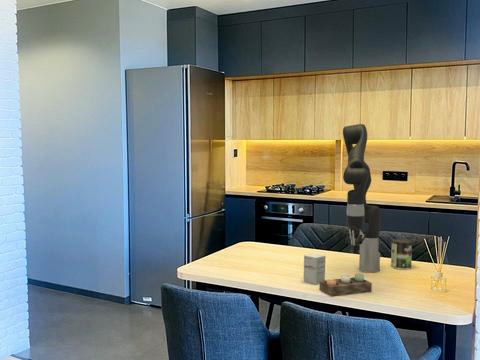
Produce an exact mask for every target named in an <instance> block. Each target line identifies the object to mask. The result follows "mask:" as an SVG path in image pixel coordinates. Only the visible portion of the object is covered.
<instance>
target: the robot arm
mask: <svg viewBox="0 0 480 360" xmlns="http://www.w3.org/2000/svg"><path fill="white" fill-rule="evenodd" d="M342 136H343V140H344V141H343V142H344V145H345V149H346V153H347V165H346V167H345V168H344V169H345V170H344V171H343V175H342V178H343V182H344V183H345V184H347V185H352V186H353V189H350V190H348V191H347V193H346V194H347V196H346V197H347V199H346V202H347V204H346V205H347V206H346V225H347V226H348V229H345V231H344V232H345V235H346V237H347V240H348V242H349V243H350V244H351V249H352V250H351V253H352V254H354V255H355V254H356V255H357V254H359V259H358V260H359V267H358V270H359V271H361V272H362V273H363V272H365V273H377V272H380V271H381V270H380V269H381V266H380V265H381V264H380V263H381V252H380V251H379V245H380V244H379V241H380V239H379V238H380V236H379V235H380V233H381V222H382V221H381V220H382V211H381V209H380V207H379V206H377V205H372V204H371V205H370V204H367V193H368V191H369V188H370V187H371V184H372V174H371V170H370V169H371V168H370V166H369V164H368V163H367V162H365V151H366V148H367V142H368V131H367V128H366V125H365V124H364V123H359V124H358V123H357V124H353V125H346V126H344V127H343V129H342ZM353 145H354V146H353ZM365 224H368V227H367V228H366V229H363V226H364V225H365Z"/></svg>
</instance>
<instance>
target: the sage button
mask: <svg viewBox="0 0 480 360" xmlns="http://www.w3.org/2000/svg"><path fill="white" fill-rule="evenodd" d="M354 277H355V281H356V282H364V280H365V274H364V273H354Z"/></svg>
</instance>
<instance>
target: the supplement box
mask: <svg viewBox="0 0 480 360" xmlns="http://www.w3.org/2000/svg"><path fill="white" fill-rule="evenodd" d="M323 280H326V255H325V254H320V253H314V252H311V253H307V254H304V255H303V282H304V283H309V284H313V285H319V281H323Z"/></svg>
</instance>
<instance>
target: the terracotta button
mask: <svg viewBox="0 0 480 360" xmlns="http://www.w3.org/2000/svg"><path fill="white" fill-rule="evenodd" d="M327 285H329V286H330V285H336V280H333V279H327Z"/></svg>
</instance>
